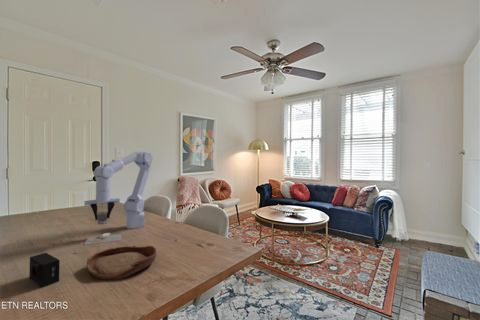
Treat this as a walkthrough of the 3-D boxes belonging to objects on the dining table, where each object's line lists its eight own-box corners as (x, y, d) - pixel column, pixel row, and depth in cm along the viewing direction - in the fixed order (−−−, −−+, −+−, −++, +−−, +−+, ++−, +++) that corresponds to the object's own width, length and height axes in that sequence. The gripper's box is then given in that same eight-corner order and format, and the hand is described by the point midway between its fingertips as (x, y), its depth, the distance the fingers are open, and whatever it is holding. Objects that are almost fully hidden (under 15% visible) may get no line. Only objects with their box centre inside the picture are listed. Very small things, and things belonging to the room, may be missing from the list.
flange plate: (121, 237, 111) (121, 233, 111) (120, 242, 104) (120, 238, 104) (88, 240, 105) (88, 237, 105) (84, 246, 98) (84, 242, 98)
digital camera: (24, 279, 71) (24, 258, 71) (45, 272, 76) (46, 252, 76) (36, 290, 66) (37, 266, 66) (59, 281, 70) (59, 259, 70)
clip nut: (107, 221, 110) (107, 211, 110) (106, 223, 107) (107, 213, 107) (97, 222, 108) (97, 212, 108) (97, 224, 105) (97, 214, 105)
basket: (75, 285, 68) (75, 269, 68) (97, 258, 88) (97, 245, 88) (153, 276, 75) (153, 261, 75) (157, 252, 94) (158, 240, 94)
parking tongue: (110, 234, 114) (110, 232, 114) (109, 237, 110) (109, 235, 110) (103, 235, 113) (103, 233, 113) (102, 238, 108) (102, 236, 108)
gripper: (118, 188, 115) (117, 215, 115) (84, 190, 106) (83, 219, 106) (120, 190, 110) (120, 217, 110) (85, 192, 101) (84, 222, 101)
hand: (102, 218), depth 107 cm, fingers closed on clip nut, 4 cm apart
